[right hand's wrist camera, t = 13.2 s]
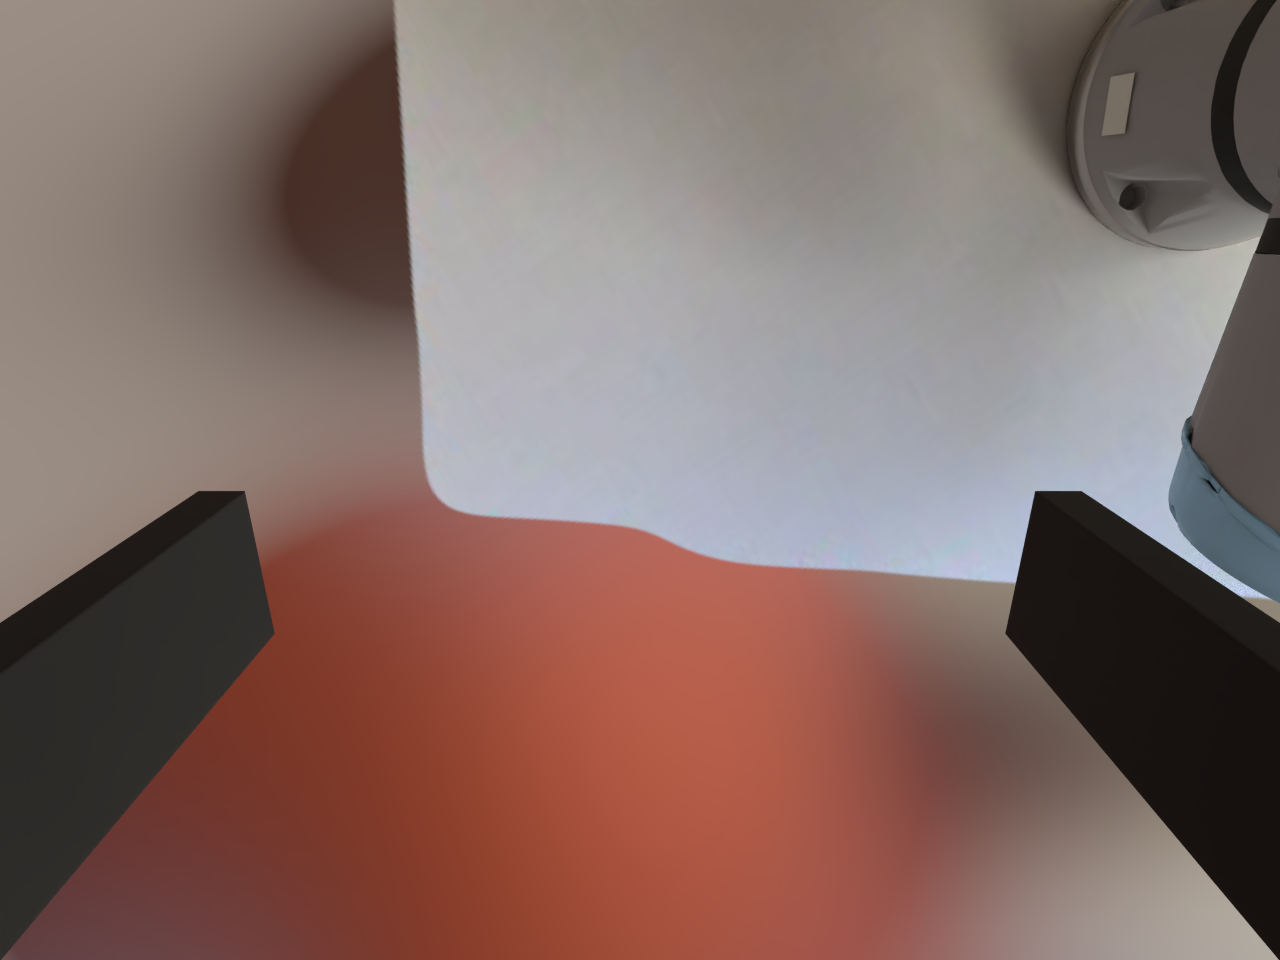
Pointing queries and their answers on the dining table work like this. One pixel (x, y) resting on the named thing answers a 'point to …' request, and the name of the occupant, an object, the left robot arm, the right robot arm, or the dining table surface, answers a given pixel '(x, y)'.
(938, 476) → the dining table surface
